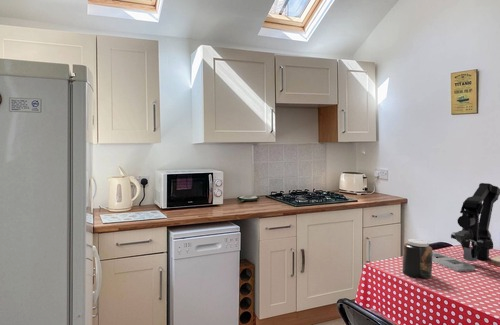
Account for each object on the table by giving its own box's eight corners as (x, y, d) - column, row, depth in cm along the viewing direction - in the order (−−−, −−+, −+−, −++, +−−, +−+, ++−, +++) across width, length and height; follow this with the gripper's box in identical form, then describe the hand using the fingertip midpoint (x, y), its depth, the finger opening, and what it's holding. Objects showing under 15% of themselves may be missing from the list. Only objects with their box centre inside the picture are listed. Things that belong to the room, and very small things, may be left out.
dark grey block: (469, 258, 179) (470, 246, 178) (476, 260, 175) (477, 248, 175) (463, 258, 177) (463, 246, 177) (470, 261, 174) (471, 249, 173)
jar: (402, 276, 157) (404, 242, 156) (402, 268, 168) (403, 236, 167) (432, 280, 153) (434, 246, 152) (430, 272, 163) (431, 239, 163)
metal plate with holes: (434, 255, 191) (434, 251, 191) (474, 269, 168) (475, 265, 168) (419, 256, 188) (419, 252, 188) (458, 271, 165) (458, 267, 165)
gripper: (443, 222, 182) (441, 252, 183) (476, 230, 164) (474, 263, 165) (460, 221, 185) (458, 251, 186) (494, 229, 168) (492, 262, 168)
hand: (470, 256), depth 176 cm, fingers closed on dark grey block, 4 cm apart
